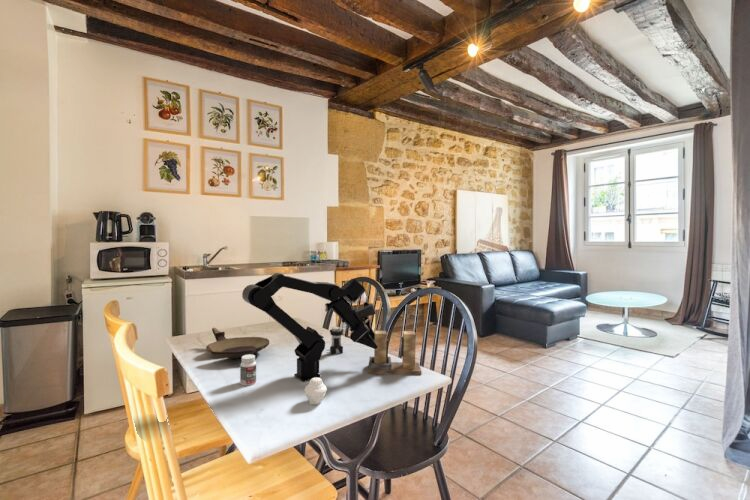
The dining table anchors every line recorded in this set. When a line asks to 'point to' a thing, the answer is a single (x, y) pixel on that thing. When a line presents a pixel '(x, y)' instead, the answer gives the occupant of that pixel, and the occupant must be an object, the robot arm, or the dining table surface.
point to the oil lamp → (235, 345)
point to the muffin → (315, 391)
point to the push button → (336, 340)
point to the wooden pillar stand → (399, 367)
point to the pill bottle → (248, 370)
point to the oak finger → (381, 347)
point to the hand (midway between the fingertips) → (376, 343)
